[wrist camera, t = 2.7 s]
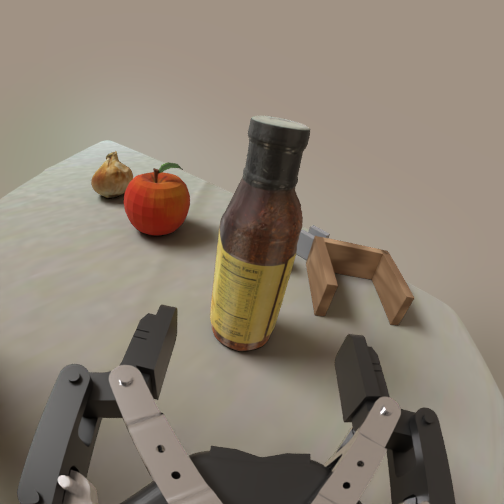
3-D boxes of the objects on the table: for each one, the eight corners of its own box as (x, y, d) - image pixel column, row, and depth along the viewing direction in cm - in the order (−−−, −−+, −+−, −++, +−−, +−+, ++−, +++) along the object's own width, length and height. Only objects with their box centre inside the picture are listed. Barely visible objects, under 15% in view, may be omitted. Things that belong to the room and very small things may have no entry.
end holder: (314, 315, 33) (327, 284, 31) (305, 263, 42) (314, 235, 40) (398, 325, 34) (414, 297, 31) (376, 276, 43) (387, 251, 41)
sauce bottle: (244, 302, 33) (286, 115, 23) (283, 339, 29) (349, 137, 19) (193, 322, 29) (220, 108, 19) (231, 366, 25) (284, 128, 15)
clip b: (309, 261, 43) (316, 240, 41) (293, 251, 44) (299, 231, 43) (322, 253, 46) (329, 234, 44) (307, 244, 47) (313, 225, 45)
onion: (83, 196, 48) (82, 154, 44) (115, 184, 54) (116, 146, 50) (107, 208, 46) (107, 162, 42) (140, 195, 52) (142, 153, 48)
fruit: (121, 216, 44) (122, 155, 39) (178, 212, 49) (184, 154, 43) (127, 248, 37) (126, 176, 32) (195, 242, 42) (202, 174, 37)
